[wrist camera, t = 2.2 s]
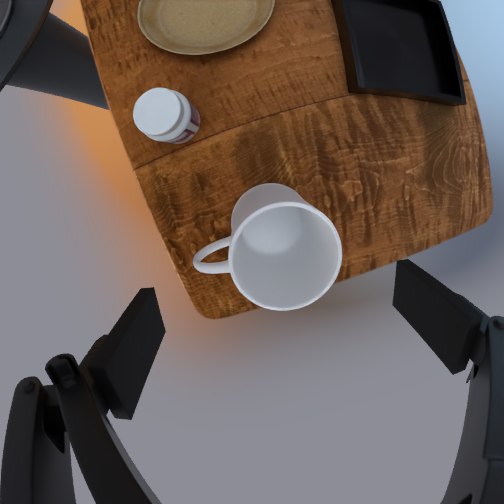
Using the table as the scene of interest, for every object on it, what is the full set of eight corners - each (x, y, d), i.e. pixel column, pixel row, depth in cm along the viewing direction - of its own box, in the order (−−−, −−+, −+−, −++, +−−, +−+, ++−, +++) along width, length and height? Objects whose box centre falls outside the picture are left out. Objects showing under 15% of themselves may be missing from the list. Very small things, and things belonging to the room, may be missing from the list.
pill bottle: (168, 96, 26) (143, 76, 18) (208, 110, 27) (195, 92, 19) (150, 135, 28) (119, 129, 20) (189, 150, 28) (170, 147, 20)
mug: (210, 269, 33) (194, 327, 21) (195, 195, 30) (166, 217, 19) (312, 253, 32) (347, 303, 21) (304, 178, 30) (341, 190, 18)
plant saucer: (298, 19, 24) (303, 10, 21) (190, 87, 26) (185, 80, 24) (222, -46, 20) (221, -57, 17) (123, 14, 22) (115, 5, 20)
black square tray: (348, 92, 27) (358, 87, 24) (326, -16, 22) (333, -27, 19) (452, 106, 27) (466, 104, 24) (430, 7, 22) (440, 1, 19)
